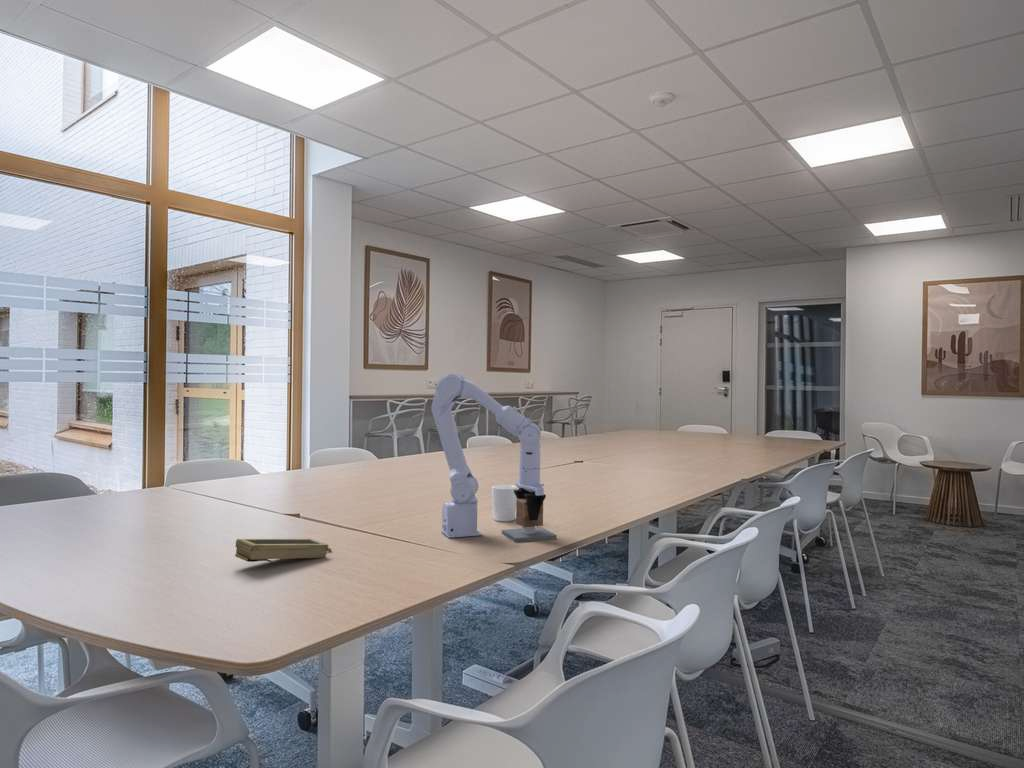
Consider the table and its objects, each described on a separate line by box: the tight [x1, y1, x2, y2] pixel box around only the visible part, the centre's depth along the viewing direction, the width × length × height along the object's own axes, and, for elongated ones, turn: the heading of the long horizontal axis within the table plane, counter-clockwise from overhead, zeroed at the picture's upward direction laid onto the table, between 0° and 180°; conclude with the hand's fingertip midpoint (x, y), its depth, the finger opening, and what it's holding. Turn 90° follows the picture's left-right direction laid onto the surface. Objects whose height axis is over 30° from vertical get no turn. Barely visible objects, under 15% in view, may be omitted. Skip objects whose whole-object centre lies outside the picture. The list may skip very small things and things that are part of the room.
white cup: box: [491, 484, 518, 522], centre depth 190 cm, size 8×8×10 cm
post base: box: [501, 526, 558, 543], centre depth 169 cm, size 12×10×5 cm
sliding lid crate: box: [515, 498, 544, 528], centre depth 169 cm, size 6×6×7 cm
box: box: [234, 538, 332, 565], centre depth 142 cm, size 8×22×5 cm, turn 140°
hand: (529, 517), depth 169 cm, fingers closed on sliding lid crate, 6 cm apart
